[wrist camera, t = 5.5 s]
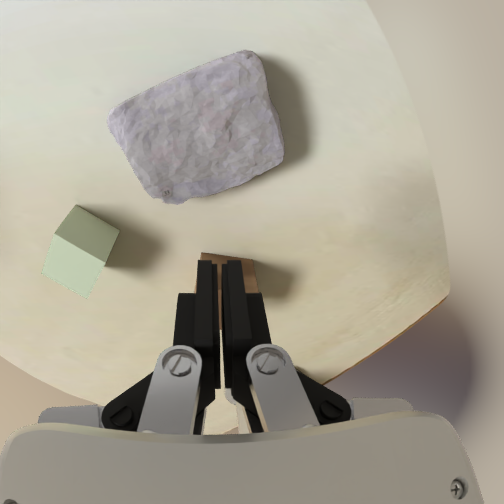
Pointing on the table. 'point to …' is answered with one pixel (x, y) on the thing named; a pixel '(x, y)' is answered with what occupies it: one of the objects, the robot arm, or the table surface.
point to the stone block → (201, 130)
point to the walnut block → (247, 274)
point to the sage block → (79, 251)
